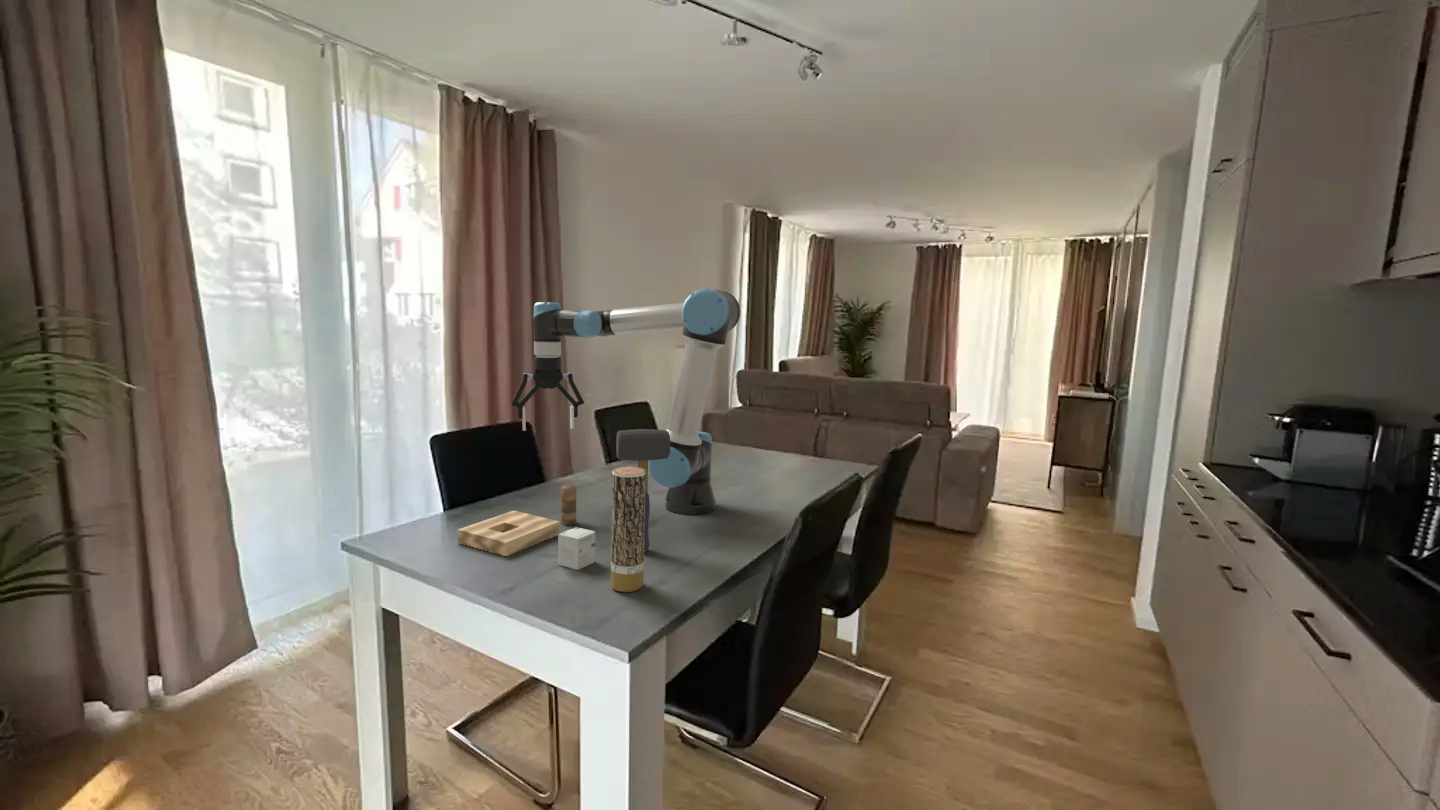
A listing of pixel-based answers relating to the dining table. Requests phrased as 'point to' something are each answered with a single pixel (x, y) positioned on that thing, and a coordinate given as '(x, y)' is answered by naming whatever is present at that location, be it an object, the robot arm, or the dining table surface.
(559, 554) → the skincare box
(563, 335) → the robot arm
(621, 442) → the rubber mallet
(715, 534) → the dining table surface
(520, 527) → the board
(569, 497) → the peg
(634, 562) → the paper tube
